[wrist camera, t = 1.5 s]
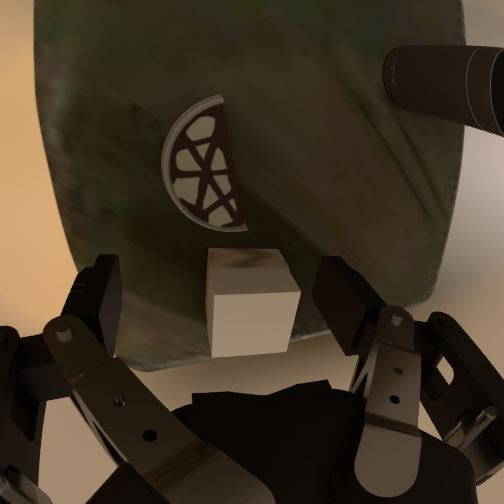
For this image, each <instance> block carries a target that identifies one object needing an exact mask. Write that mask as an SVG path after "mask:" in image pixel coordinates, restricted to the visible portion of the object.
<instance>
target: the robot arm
mask: <svg viewBox="0 0 504 504" xmlns="http://www.w3.org/2000/svg"><path fill="white" fill-rule="evenodd" d="M383 78H384V84H385V87H386V90H387V92H388V94H389V96H390V98H391V99H392V100H393V102H394V103H395V104H396V105H397V106H399V107H400V108H402V109H404V110H407V111H411V112H416V113H420V114H425V115H428V116H433V117H437V118H441V119H445V120H448V121H452V122H456V123H460V124H463V125H467V126H470V127H474V128H477V129H480V130H483V131H486V132H489V133H493V134H496V135H499V136H502V137H504V48H500V47H487V46H468V45H420V46H403V47H398V48H396V49H394V50H393V51H391V53H390V54H389V55H388V57H387V59H386V61H385V64H384V68H383ZM312 297H313V301H314V303H315V305H316V306H317V308H318V310H319V311H320V313H321V315H322V316H323V318H324V320H325V321H326V323H327V325H328V327H329V328H330V330H331V332H332V333H333V335H334V337H335V338H336V340H337V342H338V344H339V345H340V347H341V349H342V350H343V352H344V354H345V355H346V356H351V355H357V354H358V355H359V358H358V360H357V363H356V366H355V370H354V373H353V377H352V380H351V384H350V387H349V391H345V390H339V389H332V388H331V386H330V384H329V382H328V380H327V379H326V380H321V381H314V382H308V383H302V384H296V385H293V386H291V387H288V388H286V389H283V390H280V391H277V392H275V393H272V394H269V395H254V394H245V393H236V392H229V391H227V392H210V393H192V404H189V405H185V406H182V407H180V408H177V409H175V410H173V411H172V412H170V411H169V410H168V409H167V408H166V407H165V406H164V405H163V404H162V403H161V402H160V401H159V400H158V399H157V398H156V397H155V396H154V395H153V394H152V392H151V391H149V389H148V388H147V387H146V386H145V385H144V384H143V383H142V382H141V381H140V380H139V379H138V377H136V375H135V374H134V373H133V372H132V371H131V370H130V369H129V367H128V366H127V365H126V364H125V363H124V362H123V361H122V360H121V359H120V358H119V357H115V358H113V357H114V350H115V343H116V337H117V331H118V325H119V319H120V313H121V308H122V285H121V276H120V266H119V258H118V255H108V254H99V255H98V257H97V259H96V261H95V264H94V266H93V267H85V268H84V269H83V270H82V271H81V272H80V273H79V274H77V276H76V279H75V281H74V283H73V285H72V288H71V290H70V293H69V295H68V297H67V300H66V302H65V305H64V307H63V310H62V312H61V315H60V316H58V317H56V318H54V319H52V320H50V321H49V322H48V323H47V324H46V325H45V327H44V329H43V333H41V334H38V335H33V336H27V337H22V338H20V336H19V334H18V331H17V330H16V329H15V328H13V327H11V326H0V504H53V503H52V501H51V500H50V498H49V497H48V496H47V494H45V493H44V492H43V491H42V490H41V489H40V488H38V476H39V460H40V448H41V439H42V429H43V421H44V415H45V408H46V402H47V401H48V400H53V399H59V398H64V397H70V399H71V401H72V402H73V404H74V406H75V407H76V409H77V410H78V412H79V413H80V415H81V416H82V418H83V419H84V421H85V422H86V424H87V425H88V426H89V428H90V429H91V431H92V432H93V434H94V435H95V437H96V438H97V439H98V441H99V442H100V444H101V445H102V447H103V448H104V450H105V451H106V453H107V454H108V455H109V457H110V458H111V459H112V460H113V462H114V463H115V464H116V465H117V467H118V468H117V469H116V470H115V471H114V472H113V473H112V474H111V476H110V477H109V478H108V479H107V480H106V481H105V482H104V484H102V486H101V487H100V488H99V489H98V490H97V491H96V492H95V493H94V494H93V496H92V497H91V498H90V499H89V500H88V501H87V502H86V503H85V504H478V499H477V492H476V486H478V485H480V484H482V483H483V482H485V481H486V480H487V479H489V478H490V477H492V476H493V475H494V474H496V473H497V472H498V471H499V470H501V469H502V468H503V467H504V380H503V378H502V377H501V376H500V374H499V373H498V372H497V370H496V369H495V368H494V367H493V365H492V364H491V363H490V361H489V360H488V359H487V358H486V356H485V355H484V354H483V353H482V351H481V350H480V349H479V348H478V346H477V345H476V344H475V343H474V342H473V340H472V339H471V338H470V337H469V336H468V334H467V333H466V332H465V331H464V330H463V329H462V327H461V326H460V325H459V324H458V323H457V322H456V320H455V319H454V318H452V317H451V316H450V315H448V314H445V313H443V312H433V313H431V315H430V316H429V318H428V320H427V322H422V321H414V320H413V317H412V316H411V315H410V314H409V312H407V311H406V310H404V309H403V308H401V307H398V306H394V305H387V304H386V303H385V302H384V301H383V299H382V298H381V297H380V296H379V295H378V294H377V292H376V291H375V290H374V289H373V288H372V287H371V285H370V284H369V283H368V282H367V281H366V280H365V279H364V277H363V276H362V275H361V274H360V273H358V272H357V271H355V270H354V269H352V268H351V267H349V265H348V264H347V263H346V262H345V261H344V260H343V259H342V257H340V256H323V257H322V258H321V259H320V261H319V265H318V269H317V273H316V277H315V281H314V284H313V289H312ZM443 356H444V357H445V359H446V360H447V362H448V363H449V364H450V365H451V367H452V368H453V372H454V378H453V380H452V382H451V383H450V385H449V384H448V383H447V382H446V380H445V379H444V377H443V376H442V374H441V373H440V371H439V370H438V368H437V365H438V364H439V362H440V361H441V359H442V358H443ZM419 401H421V403H422V405H423V407H424V408H425V410H426V412H427V414H428V415H429V417H430V419H431V421H432V422H433V424H434V426H435V428H436V429H437V431H438V433H439V435H440V436H441V438H442V440H443V441H441V440H439V439H437V438H436V437H434V436H432V435H430V434H428V433H426V432H424V431H422V430H420V429H419V428H418V415H419Z"/></svg>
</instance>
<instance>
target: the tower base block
mask: <svg viewBox="0 0 504 504" xmlns="http://www.w3.org/2000/svg"><path fill="white" fill-rule="evenodd" d="M259 267H287V268H288V270H289V267H288V265H287V263H286V262H285V260H284V258H283V256H282V255H281V253H280V251H279V250H278V249H231V248H209V250H208V266H207V282H206V301H205V308H206V314H207V321H208V293H209V268H259Z"/></svg>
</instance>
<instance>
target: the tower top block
mask: <svg viewBox="0 0 504 504" xmlns="http://www.w3.org/2000/svg"><path fill="white" fill-rule="evenodd" d="M300 293H301V291H300V289H299V287H298V286H297V284H296V282H295V280H294V279H293V277H292V275H291V273H290V272H289V270H288V268H287V267H259V268H209V293H208V324H207V330H208V336H209V343H210V349H211V355H212V357H227V356H242V355H255V354H266V353H277V352H286V351H287V347H288V343H289V339H290V335H291V331H292V327H293V323H294V319H295V315H296V310H297V306H298V302H299V298H300Z"/></svg>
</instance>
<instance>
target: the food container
mask: <svg viewBox="0 0 504 504" xmlns="http://www.w3.org/2000/svg"><path fill="white" fill-rule="evenodd" d="M223 102H224V100H223V97H222V96H221V95H220V94H218V95H215V96H211V97H208V98H206V99H204V100H202V101H200V102H198V103H196V104H195V105H193V106H192V107H190V108H189V109H187V110H186V111H185V112H184V113H183V114H182V115H181V116H180V117H179V118H178V119H177V121H176V122H175V123H174V125H173V126H172V128H171V130H170V131H169V133H168V135H167V137H166V140H165V143H164V146H163V151H162V157H161V170H162V176H163V181H164V183H165V186H166V189H167V191H168V193H169V195H170V196H171V198H172V200H173V201H174V203H175V204H176V205H177V206H178V208H179V209H180V210H181V211H182V212H183V213H184V214H185V215H186V216H187V217H188V218H190V219H191V220H193V221H195V222H196V223H198V224H200V225H202V226H204V227H207V228H210V229H214V230H218V231H226V232H240V231H246V230H248V229H247V226H246V224H245V221H244V219H243V215H242V211H241V205H240V200H239V194H238V189H237V183H236V178H235V172H234V166H233V161H232V156H231V151H230V146H229V140H228V134H227V129H226V124H225V118H224V113H223V108H222V103H223Z"/></svg>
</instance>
